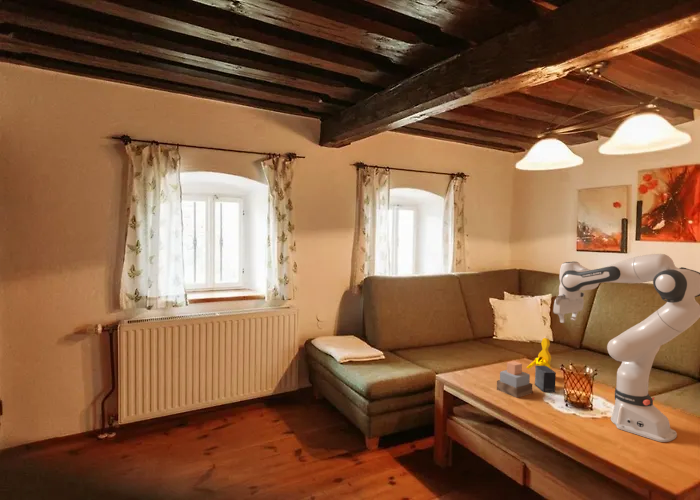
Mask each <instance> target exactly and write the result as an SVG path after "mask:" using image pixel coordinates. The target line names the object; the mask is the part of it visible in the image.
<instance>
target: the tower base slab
mask: <svg viewBox="0 0 700 500" xmlns="http://www.w3.org/2000/svg"><path fill="white" fill-rule="evenodd" d="M496 390H497V391H499V392H501V393H504V394H506V395H509V396H511V397H513V398H516V399H518V398H521V397H524V396H527V395H530V394H531V395H532V394H533V383H531V382H530V384H528V385H524V386H521V387H517V388H515V387H513V386H511V385H508V384H506V383H503V382H501V381H500V379H499V380H496Z"/></svg>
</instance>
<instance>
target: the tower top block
mask: <svg viewBox="0 0 700 500" xmlns="http://www.w3.org/2000/svg"><path fill="white" fill-rule="evenodd" d="M530 378H531V375H530V373H528V372H524V371H522V374H518V375H513V374H511V373H508V372H507V369H506V370H501V371H500V372H499V380H500V381H501V382H503V383H506V384H508V385H511V386H513V387H515V388H517V387H521V386H524V385H528V384H530V383H531V382H530V380H531V379H530Z"/></svg>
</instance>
